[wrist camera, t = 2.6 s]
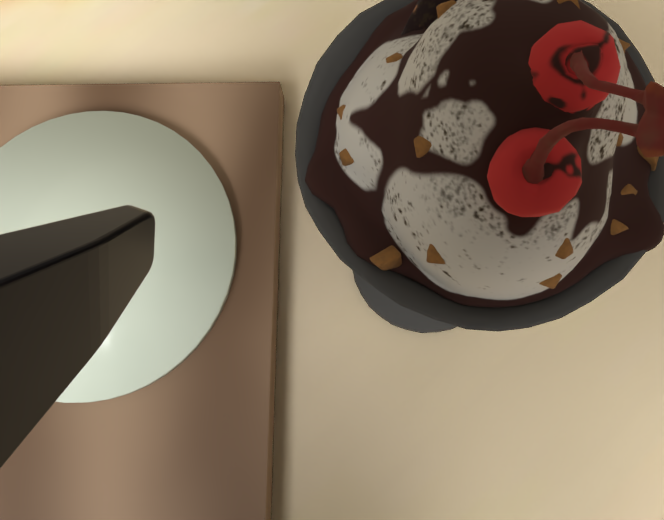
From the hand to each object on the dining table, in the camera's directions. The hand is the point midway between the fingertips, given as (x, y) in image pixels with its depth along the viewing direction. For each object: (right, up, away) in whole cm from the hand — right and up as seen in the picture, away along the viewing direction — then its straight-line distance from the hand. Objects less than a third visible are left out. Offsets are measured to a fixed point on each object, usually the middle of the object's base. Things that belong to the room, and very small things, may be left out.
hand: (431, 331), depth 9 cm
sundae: (+2, +1, +12) cm, 12 cm away
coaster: (-9, +1, +11) cm, 15 cm away
